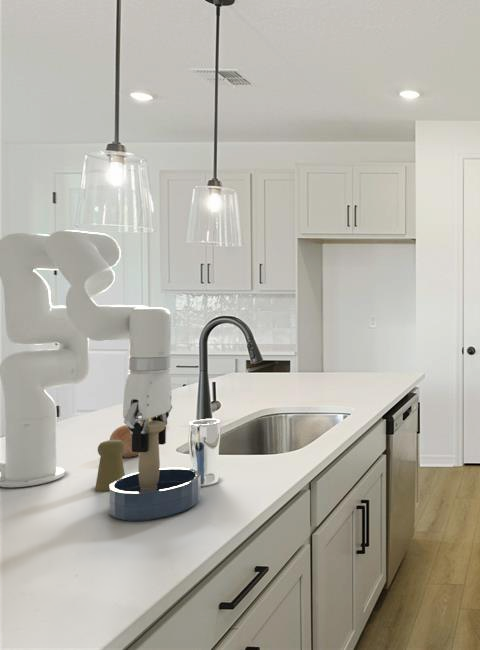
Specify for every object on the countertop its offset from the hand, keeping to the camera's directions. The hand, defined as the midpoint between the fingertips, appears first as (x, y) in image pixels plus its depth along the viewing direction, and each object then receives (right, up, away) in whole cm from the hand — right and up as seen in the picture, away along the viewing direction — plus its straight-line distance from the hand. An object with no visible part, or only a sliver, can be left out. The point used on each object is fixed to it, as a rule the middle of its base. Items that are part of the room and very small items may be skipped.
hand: (149, 446), depth 122 cm
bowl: (+1, -13, 0) cm, 13 cm away
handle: (0, -10, 0) cm, 10 cm away
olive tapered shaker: (-17, -13, +12) cm, 24 cm away
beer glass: (+3, -13, +16) cm, 21 cm away
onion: (-29, -12, +37) cm, 48 cm away
